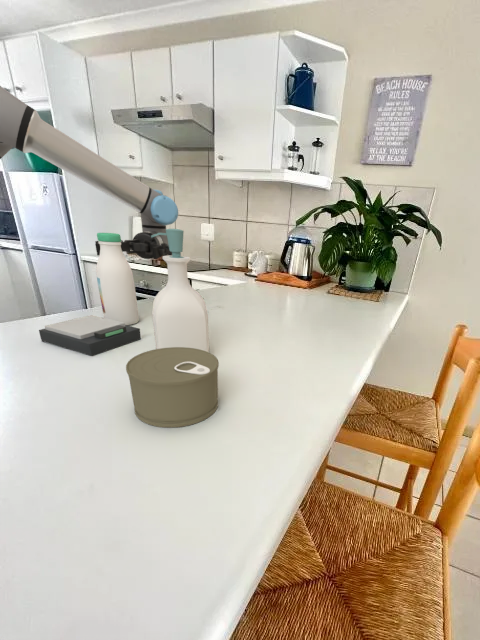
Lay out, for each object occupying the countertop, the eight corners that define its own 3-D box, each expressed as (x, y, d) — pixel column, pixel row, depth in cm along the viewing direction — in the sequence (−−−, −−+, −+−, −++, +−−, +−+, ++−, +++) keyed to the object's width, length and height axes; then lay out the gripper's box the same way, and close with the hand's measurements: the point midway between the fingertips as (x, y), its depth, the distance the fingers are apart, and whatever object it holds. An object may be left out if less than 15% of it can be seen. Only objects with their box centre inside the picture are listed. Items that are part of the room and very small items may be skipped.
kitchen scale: (41, 341, 65) (37, 325, 63) (94, 327, 75) (91, 312, 73) (91, 356, 60) (88, 339, 59) (141, 338, 70) (139, 323, 69)
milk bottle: (146, 320, 82) (135, 234, 73) (125, 328, 76) (110, 235, 67) (119, 316, 84) (106, 231, 75) (97, 323, 77) (79, 231, 68)
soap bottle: (158, 346, 67) (145, 225, 57) (205, 345, 70) (201, 229, 60) (157, 365, 59) (141, 227, 49) (210, 362, 62) (206, 232, 52)
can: (172, 380, 54) (169, 341, 51) (234, 397, 51) (234, 357, 47) (113, 413, 44) (104, 367, 41) (184, 438, 40) (180, 390, 37)
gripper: (190, 260, 104) (178, 269, 85) (107, 255, 101) (76, 264, 82) (188, 234, 101) (175, 239, 82) (103, 228, 97) (69, 231, 79)
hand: (126, 251), depth 82 cm, fingers open, 13 cm apart
